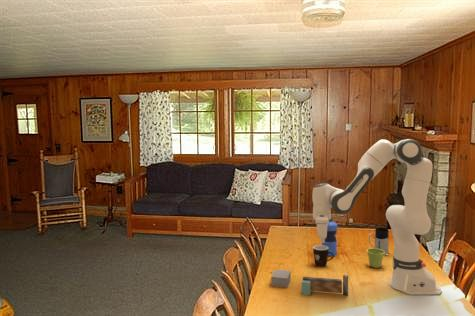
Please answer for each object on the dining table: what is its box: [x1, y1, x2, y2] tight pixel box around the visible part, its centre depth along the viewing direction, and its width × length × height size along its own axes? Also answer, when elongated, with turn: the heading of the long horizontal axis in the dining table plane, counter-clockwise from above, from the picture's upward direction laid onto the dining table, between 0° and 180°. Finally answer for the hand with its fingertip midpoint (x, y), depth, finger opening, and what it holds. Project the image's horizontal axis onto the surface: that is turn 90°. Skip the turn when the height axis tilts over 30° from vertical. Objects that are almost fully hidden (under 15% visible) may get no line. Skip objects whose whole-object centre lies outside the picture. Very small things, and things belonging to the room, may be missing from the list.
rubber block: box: [270, 269, 292, 289], centre depth 193 cm, size 8×10×5 cm
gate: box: [302, 276, 343, 294], centre depth 181 cm, size 18×2×6 cm, turn 77°
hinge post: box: [342, 274, 349, 297], centre depth 178 cm, size 2×2×9 cm
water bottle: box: [321, 214, 338, 257], centre depth 232 cm, size 9×9×25 cm
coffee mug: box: [312, 244, 335, 268], centre depth 215 cm, size 12×9×10 cm
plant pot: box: [366, 247, 385, 269], centre depth 213 cm, size 9×9×9 cm
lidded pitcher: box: [368, 227, 390, 255], centre depth 232 cm, size 9×14×15 cm, turn 112°
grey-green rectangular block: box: [301, 279, 312, 296], centre depth 180 cm, size 4×2×6 cm, turn 77°
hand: (322, 241), depth 195 cm, fingers closed
